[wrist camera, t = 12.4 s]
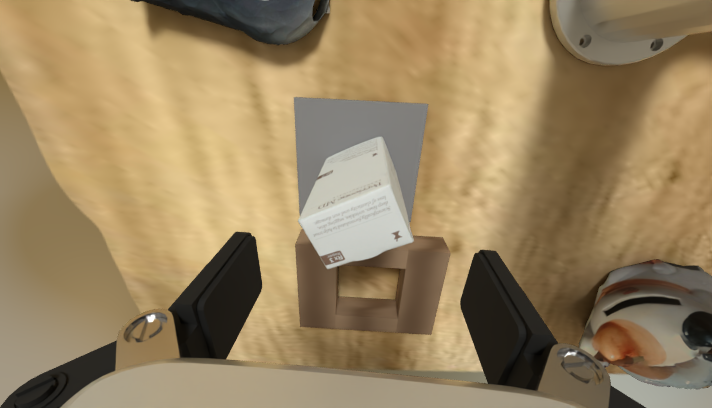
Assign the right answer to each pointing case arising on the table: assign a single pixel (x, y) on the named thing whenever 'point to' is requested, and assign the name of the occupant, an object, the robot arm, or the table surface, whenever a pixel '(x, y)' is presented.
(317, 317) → the walnut socket block
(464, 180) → the table surface
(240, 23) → the electronic device
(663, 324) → the lucky cat figurine
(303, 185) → the grey rubber mat
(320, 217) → the skincare box
